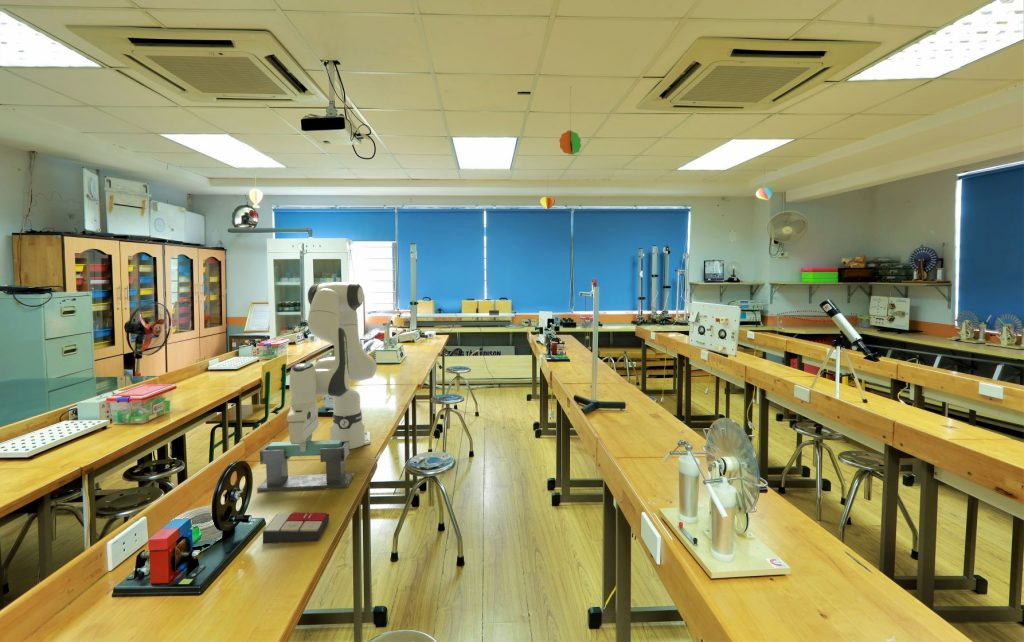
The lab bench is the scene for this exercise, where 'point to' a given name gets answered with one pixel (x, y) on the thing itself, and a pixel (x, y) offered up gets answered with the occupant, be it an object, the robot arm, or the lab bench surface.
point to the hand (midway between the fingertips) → (305, 448)
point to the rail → (311, 450)
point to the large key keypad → (295, 527)
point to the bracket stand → (282, 481)
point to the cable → (202, 516)
